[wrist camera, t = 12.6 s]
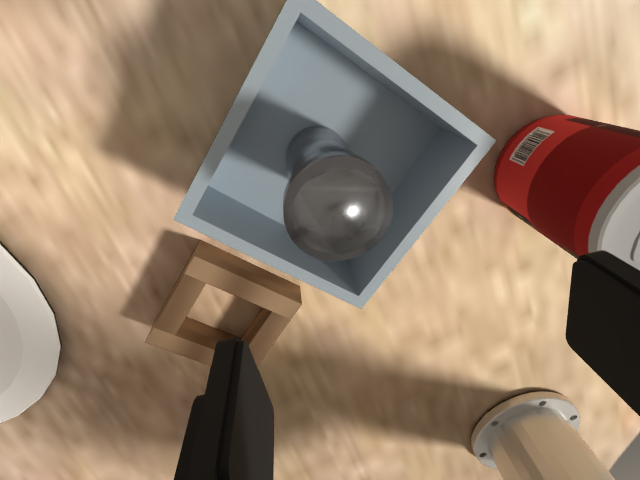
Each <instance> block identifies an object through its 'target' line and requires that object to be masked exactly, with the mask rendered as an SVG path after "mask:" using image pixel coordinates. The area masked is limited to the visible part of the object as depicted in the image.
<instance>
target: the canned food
mask: <svg viewBox="0 0 640 480" xmlns="http://www.w3.org/2000/svg"><path fill="white" fill-rule="evenodd" d="M494 185H495V189H496V193H497V195H498V197H499V199H500V200H501V202H502V204H503V206H504V207H505V208H507V209H508V210H509V211H510V212H511V213H513V214H514V215H515V216H517V217H518V218H520V219H521V220H523V221H524V222H525V223H527V224H528V225H530V226H531V227H533V228H534V229H535V230H537V231H538V232H540V233H541V234H543V235H544V236H545V237H547V238H548V239H550V240H551V241H553V242H554V243H555V244H557V245H558V246H560V247H561V248H562V249H564V250H565V251H567V252H568V253H570V254H571V255H572V256H574V257H575V258H577V259H578V257H579V256H581V255H584V254H588V253H592V252H596V251H600V250H605V251H607V252H609V253H611V254H613V255H614V256H616V257H618V258H619V259H621V260H623V261H624V262H626V263H628V264H630V265H631V266H633V267H635V268H636V269H638V270H640V131H638V130H634V129H629V128H625V127H620V126H616V125H611V124H607V123H602V122H597V121H593V120H588V119H584V118H579V117H575V116H570V115H555V116H549V117H544V118H541V119H538V120H535V121H533V122H531V123H529V124H528V125H526V126H524V127H523V128H522V129H520V130H519V131H518V132H517V133H516V134H515V135H514V136H513V137H512V138H511V139H510V140H509V141H508V143H507V144H506V146H505V147H504V148H503V150H502V152H501V154H500V156H499V158H498V161H497V164H496V167H495V173H494Z"/></svg>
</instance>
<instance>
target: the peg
mask: <svg viewBox="0 0 640 480" xmlns="http://www.w3.org/2000/svg"><path fill="white" fill-rule="evenodd" d="M286 168H287V177H288V183H287V185H286V188H285V191H284V196H283V215H284V223H285V227H286V230H287V233H288V234H289V236H290V238H291V240H292V241H293V242H294V244H295V245H296V246H297V247H298V248H299V249H301V250H302V251H303V252H305V253H306V254H308V255H310V256H312V257H314V258H317V259H321V260H326V261H344V260H349V259H352V258H355V257H358V256H360V255H362V254H364V253H366V252H367V251H369V250H370V249H371V248H373V247H374V246H375V245H376V244H377V243H378V242H379V241H380V240H381V239H382V237H383V236H384V234H385V233H386V231H387V229H388V227H389V225H390V222H391V219H392V214H393V198H392V194H391V191H390V188H389V186H388V184H387V182H386V181H385V179H384V178H383V177H382V175H381V174H380V173H379V172H378V171H377V169H376V168H375V167H374V166H373V165H372V164H371V163H369V162H368V161H367V160H365V159H363V158H362V157H360V156H357V155H355V154H354V153H353V152H352V151H351V150H350V148H349V147H348V146H347V144H346V143H345V142H344V140H343V139H342V138H341V137H340V135H339V134H338V133H336V132H335V131H333V130H332V129H330V128H327V127H323V126H312V127H308V128H305V129H303V130H301V131H300V132H298V133H297V134H296V135H295V136H294V137H293V138H292V139H291V141H290V142H289V144H288V147H287V150H286Z"/></svg>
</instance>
